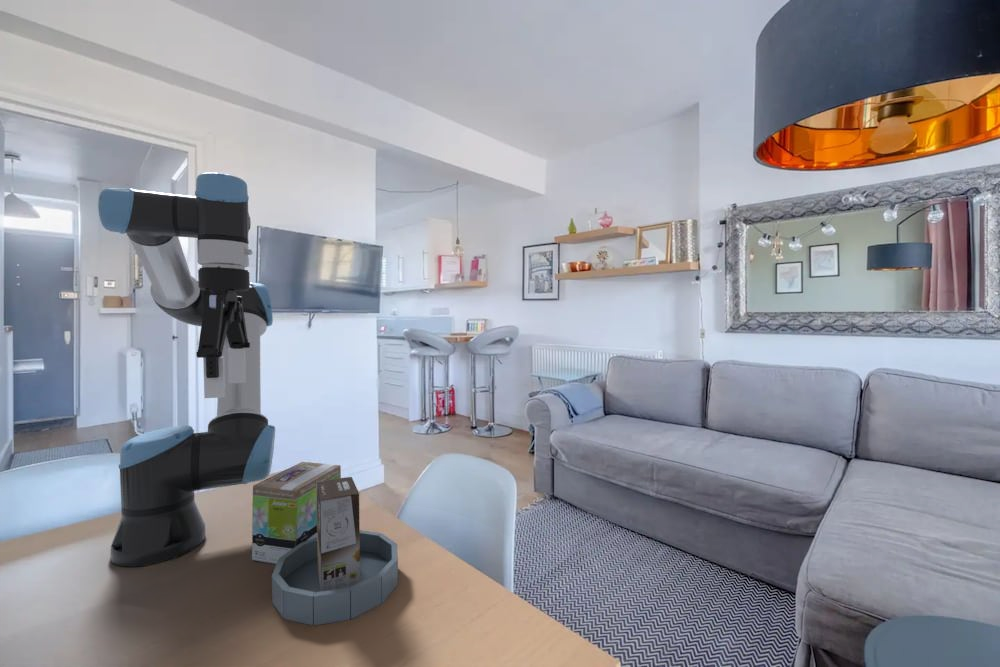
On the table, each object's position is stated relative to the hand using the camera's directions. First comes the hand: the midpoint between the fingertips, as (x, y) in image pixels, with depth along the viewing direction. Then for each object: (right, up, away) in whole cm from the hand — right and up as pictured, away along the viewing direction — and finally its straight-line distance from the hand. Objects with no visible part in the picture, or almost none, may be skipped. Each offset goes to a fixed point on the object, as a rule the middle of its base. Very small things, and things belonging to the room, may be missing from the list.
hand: (227, 389), depth 78 cm
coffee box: (+20, -33, 0) cm, 38 cm away
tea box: (+7, -34, +13) cm, 36 cm away
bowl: (+20, -34, -1) cm, 39 cm away
